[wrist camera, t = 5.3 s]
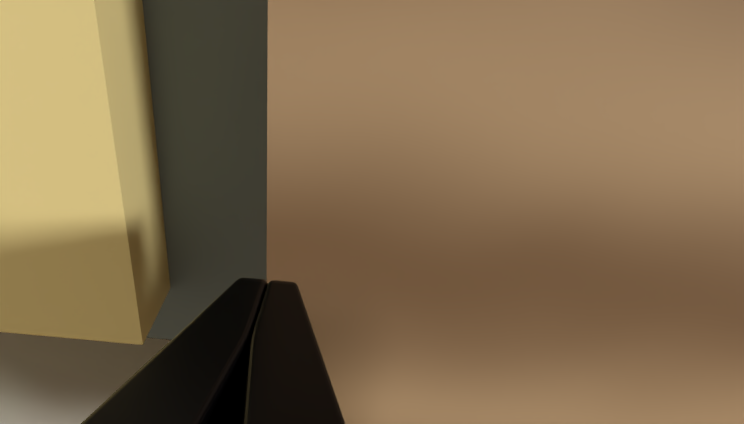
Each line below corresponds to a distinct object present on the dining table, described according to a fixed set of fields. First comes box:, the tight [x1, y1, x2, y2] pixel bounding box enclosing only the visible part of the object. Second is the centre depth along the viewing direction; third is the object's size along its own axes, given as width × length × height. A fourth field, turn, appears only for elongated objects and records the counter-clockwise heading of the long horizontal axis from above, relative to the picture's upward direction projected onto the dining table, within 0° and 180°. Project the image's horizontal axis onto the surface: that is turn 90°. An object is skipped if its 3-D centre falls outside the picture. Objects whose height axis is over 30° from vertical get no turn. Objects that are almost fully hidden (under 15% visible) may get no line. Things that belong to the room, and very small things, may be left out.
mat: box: [142, 0, 268, 340], centre depth 12 cm, size 12×10×1 cm
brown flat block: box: [267, 0, 744, 424], centre depth 11 cm, size 14×16×4 cm
